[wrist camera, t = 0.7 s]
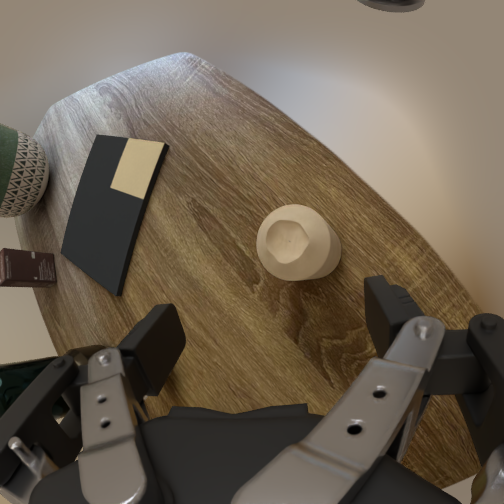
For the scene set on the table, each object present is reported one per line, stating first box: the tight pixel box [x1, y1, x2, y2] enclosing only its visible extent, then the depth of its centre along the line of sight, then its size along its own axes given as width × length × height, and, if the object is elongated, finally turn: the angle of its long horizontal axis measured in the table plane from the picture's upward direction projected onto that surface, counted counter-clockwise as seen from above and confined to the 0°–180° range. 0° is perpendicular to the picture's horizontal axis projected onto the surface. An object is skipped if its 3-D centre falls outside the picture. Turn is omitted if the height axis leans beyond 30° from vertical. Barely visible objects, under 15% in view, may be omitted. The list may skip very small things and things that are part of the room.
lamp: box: [0, 345, 107, 420], centre depth 29 cm, size 10×10×22 cm
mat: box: [61, 135, 169, 296], centre depth 41 cm, size 22×18×1 cm
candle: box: [257, 204, 341, 281], centre depth 24 cm, size 6×6×10 cm
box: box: [0, 248, 57, 288], centre depth 42 cm, size 6×4×12 cm
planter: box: [0, 124, 49, 218], centre depth 43 cm, size 20×20×21 cm
